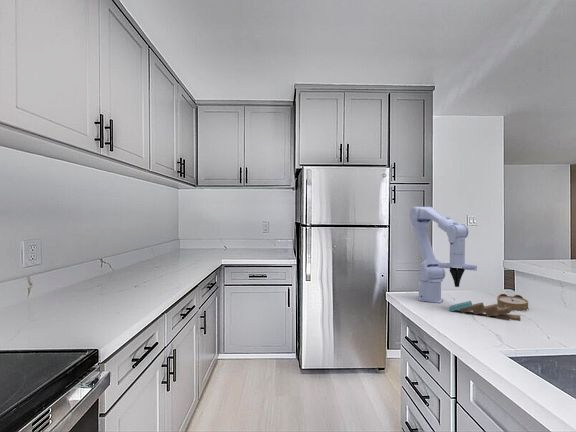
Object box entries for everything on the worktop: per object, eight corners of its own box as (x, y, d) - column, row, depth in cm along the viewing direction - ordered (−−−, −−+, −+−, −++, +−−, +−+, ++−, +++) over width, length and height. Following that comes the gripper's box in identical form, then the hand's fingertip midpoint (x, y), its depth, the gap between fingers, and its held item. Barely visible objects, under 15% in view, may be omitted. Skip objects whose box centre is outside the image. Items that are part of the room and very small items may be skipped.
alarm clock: (499, 302, 153) (494, 289, 167) (499, 314, 154) (494, 300, 168) (531, 305, 149) (524, 291, 163) (530, 317, 150) (523, 302, 164)
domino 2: (472, 310, 145) (494, 306, 140) (475, 308, 149) (496, 303, 144) (474, 314, 145) (495, 310, 140) (476, 312, 148) (498, 308, 144)
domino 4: (495, 314, 141) (520, 318, 137) (496, 312, 145) (520, 315, 140) (495, 319, 141) (520, 322, 137) (496, 316, 145) (520, 319, 140)
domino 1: (460, 309, 148) (481, 304, 144) (462, 306, 151) (482, 302, 147) (461, 313, 147) (482, 308, 143) (463, 310, 151) (484, 306, 147)
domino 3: (485, 312, 143) (507, 308, 138) (488, 309, 146) (510, 306, 141) (486, 316, 142) (509, 313, 137) (489, 313, 146) (511, 310, 141)
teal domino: (448, 307, 150) (468, 302, 146) (451, 305, 154) (470, 300, 149) (450, 311, 150) (470, 306, 146) (452, 309, 153) (472, 304, 149)
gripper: (436, 253, 154) (436, 286, 154) (475, 255, 146) (475, 290, 146) (439, 252, 160) (439, 283, 160) (477, 254, 152) (477, 287, 152)
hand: (457, 286), depth 154 cm, fingers closed
